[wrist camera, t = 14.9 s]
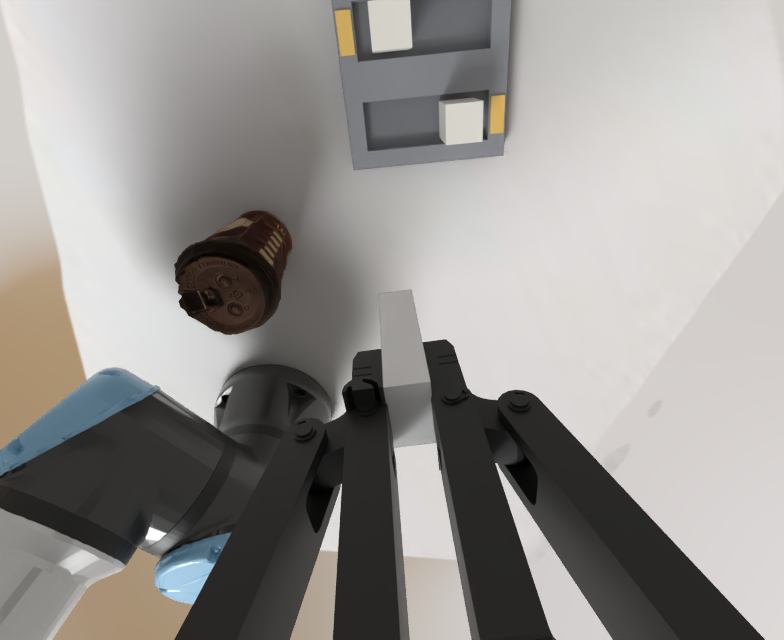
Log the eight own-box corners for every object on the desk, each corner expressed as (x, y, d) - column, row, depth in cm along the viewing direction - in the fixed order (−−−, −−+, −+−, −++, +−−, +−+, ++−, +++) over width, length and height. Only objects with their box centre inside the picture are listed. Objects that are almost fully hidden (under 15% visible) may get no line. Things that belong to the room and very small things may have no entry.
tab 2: (439, 137, 38) (446, 145, 34) (438, 100, 36) (445, 104, 33) (472, 134, 38) (482, 141, 34) (472, 97, 36) (483, 100, 32)
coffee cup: (208, 251, 45) (151, 312, 33) (234, 183, 41) (180, 226, 30) (283, 287, 47) (254, 355, 36) (314, 226, 43) (292, 280, 32)
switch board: (354, 165, 40) (353, 170, 38) (315, -143, 29) (310, -157, 27) (498, 151, 40) (503, 155, 38) (512, -165, 29) (521, -181, 27)
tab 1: (372, 53, 34) (372, 51, 31) (368, 8, 33) (367, 1, 29) (408, 49, 34) (412, 47, 31) (406, 4, 33) (409, -4, 29)
